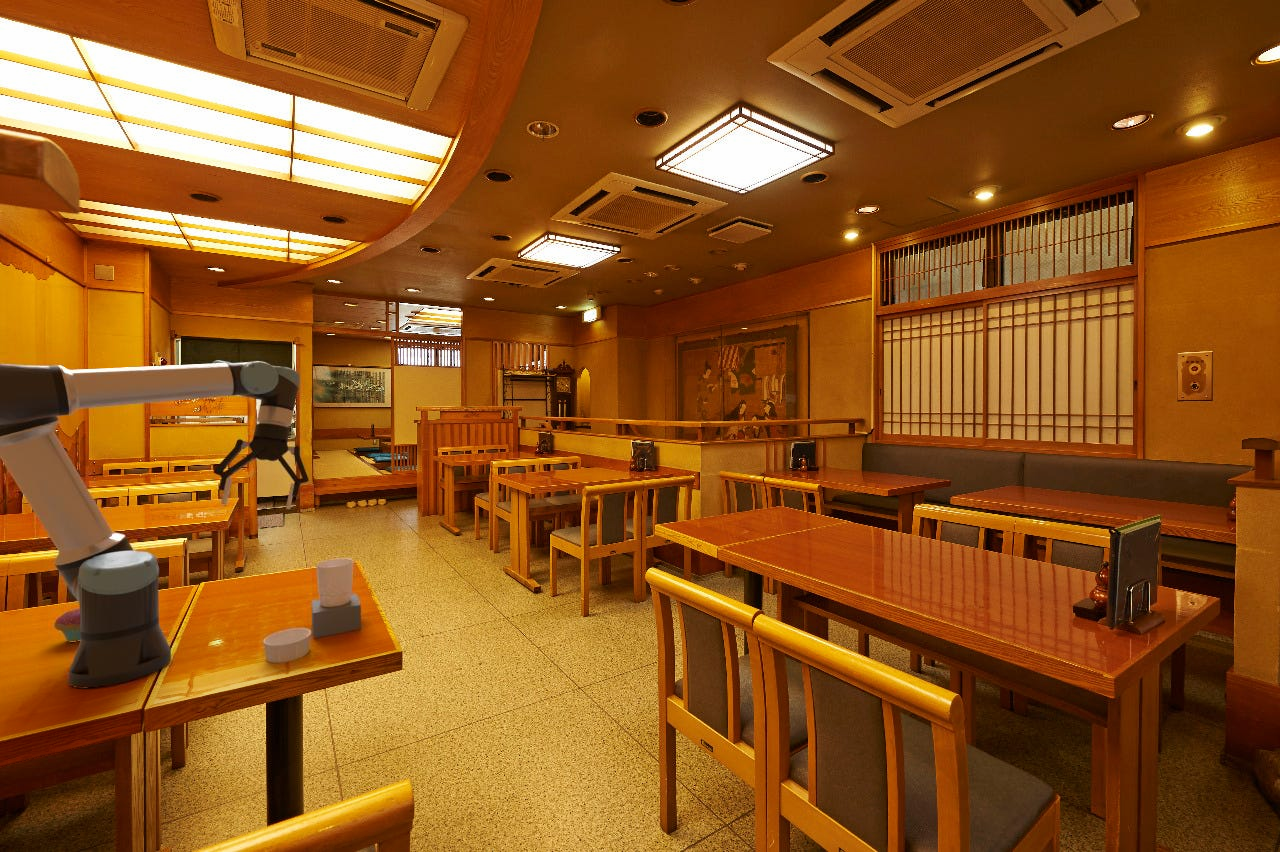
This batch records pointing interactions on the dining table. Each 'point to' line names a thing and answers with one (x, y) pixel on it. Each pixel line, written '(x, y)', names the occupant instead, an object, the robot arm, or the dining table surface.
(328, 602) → the white cup
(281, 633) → the ramekin
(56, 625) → the cupcake
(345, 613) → the gray rectangular block
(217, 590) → the dining table surface
